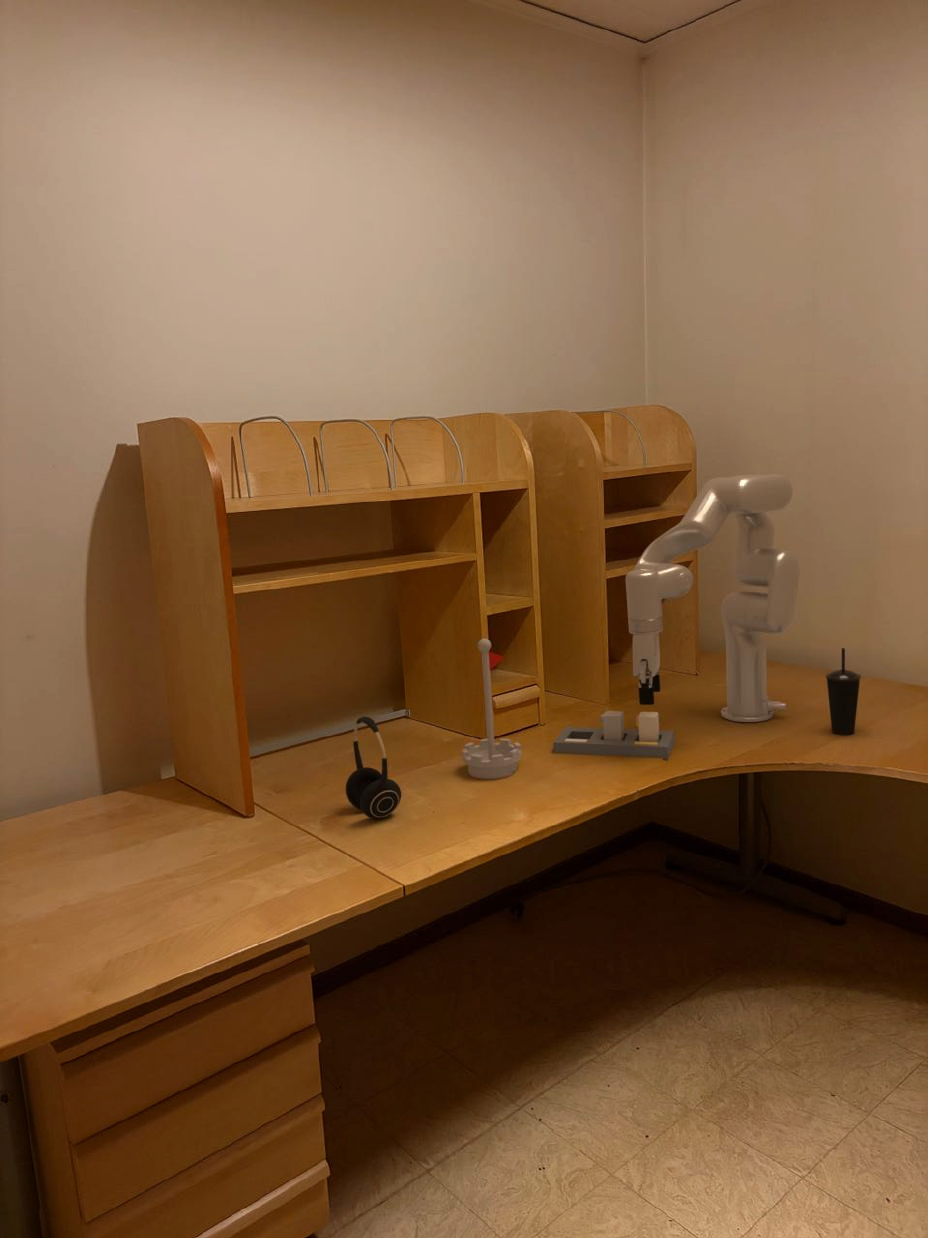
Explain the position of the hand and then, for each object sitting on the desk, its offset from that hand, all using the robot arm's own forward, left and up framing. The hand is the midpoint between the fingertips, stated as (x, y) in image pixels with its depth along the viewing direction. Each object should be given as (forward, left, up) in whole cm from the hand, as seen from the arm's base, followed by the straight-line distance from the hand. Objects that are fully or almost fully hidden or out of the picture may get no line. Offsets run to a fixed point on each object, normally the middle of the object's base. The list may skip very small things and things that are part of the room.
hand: (650, 697), depth 212 cm
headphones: (+49, +47, -13) cm, 68 cm away
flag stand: (+33, +19, -13) cm, 40 cm away
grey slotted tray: (+9, +1, -12) cm, 15 cm away
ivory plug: (0, +1, -12) cm, 12 cm away
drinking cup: (-41, -18, -13) cm, 47 cm away
